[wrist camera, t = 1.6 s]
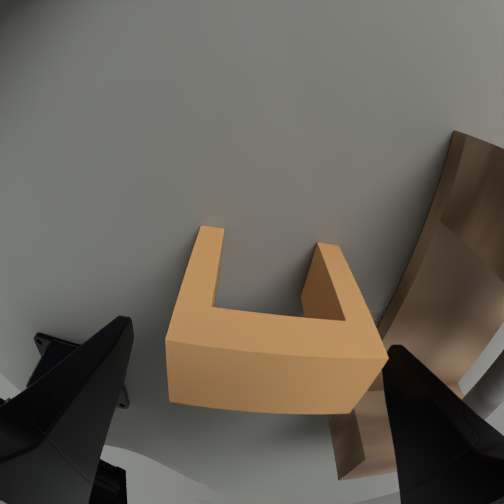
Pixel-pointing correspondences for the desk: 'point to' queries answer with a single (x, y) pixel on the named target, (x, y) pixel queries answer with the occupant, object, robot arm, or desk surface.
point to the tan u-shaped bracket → (272, 342)
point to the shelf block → (441, 304)
